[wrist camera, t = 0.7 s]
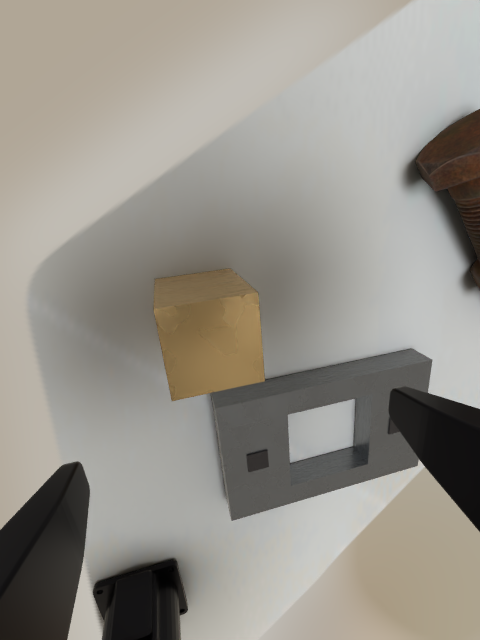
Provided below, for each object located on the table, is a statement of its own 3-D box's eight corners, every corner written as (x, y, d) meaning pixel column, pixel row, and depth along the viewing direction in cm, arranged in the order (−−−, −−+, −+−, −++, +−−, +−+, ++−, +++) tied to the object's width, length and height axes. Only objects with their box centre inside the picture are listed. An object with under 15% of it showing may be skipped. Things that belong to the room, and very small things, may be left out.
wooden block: (236, 335, 21) (264, 381, 16) (168, 348, 20) (171, 401, 15) (230, 268, 19) (258, 292, 14) (154, 278, 19) (153, 309, 13)
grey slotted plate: (400, 449, 28) (418, 466, 27) (226, 498, 25) (231, 522, 23) (412, 348, 25) (433, 360, 23) (210, 391, 22) (215, 409, 20)
